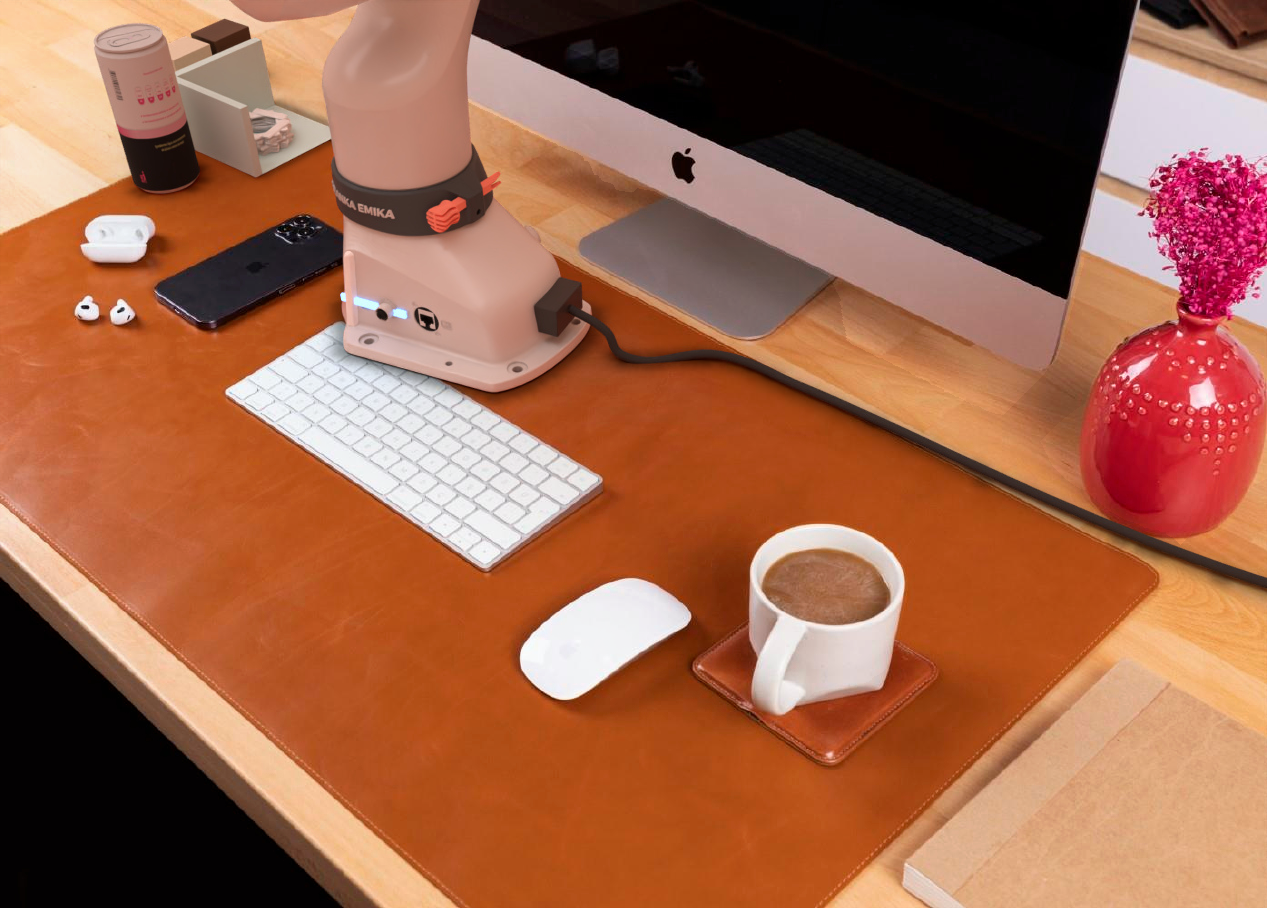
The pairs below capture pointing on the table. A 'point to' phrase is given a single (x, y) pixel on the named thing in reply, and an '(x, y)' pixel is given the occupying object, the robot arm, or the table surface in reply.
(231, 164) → the l-shaped corner panel
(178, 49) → the light tan block
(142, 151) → the beverage can
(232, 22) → the walnut block
